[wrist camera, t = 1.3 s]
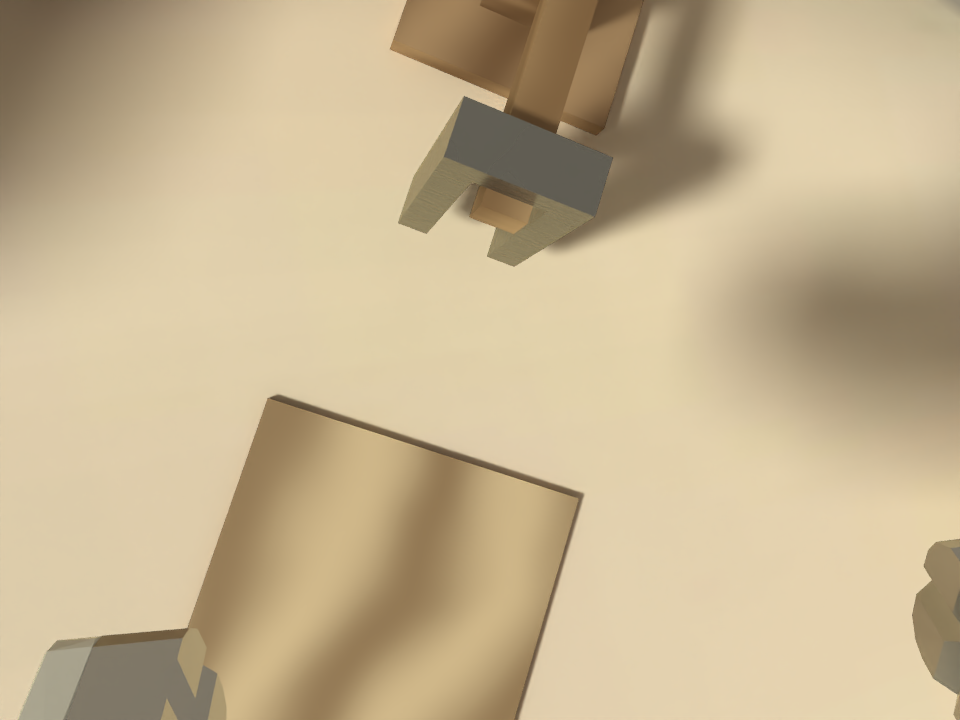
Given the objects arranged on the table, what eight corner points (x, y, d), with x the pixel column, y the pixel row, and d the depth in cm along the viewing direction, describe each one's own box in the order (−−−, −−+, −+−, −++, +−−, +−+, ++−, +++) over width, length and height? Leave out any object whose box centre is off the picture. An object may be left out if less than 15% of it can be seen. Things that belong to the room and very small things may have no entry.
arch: (398, 223, 35) (443, 156, 27) (413, 176, 36) (463, 95, 27) (514, 266, 36) (594, 216, 28) (528, 221, 37) (613, 157, 28)
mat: (147, 741, 35) (146, 745, 34) (267, 398, 37) (267, 397, 36) (481, 819, 38) (483, 824, 37) (575, 497, 40) (578, 498, 39)
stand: (326, 231, 38) (364, 123, 24) (459, -150, 40) (560, -438, 27) (541, 310, 40) (687, 252, 26) (655, -57, 43) (840, -282, 29)
